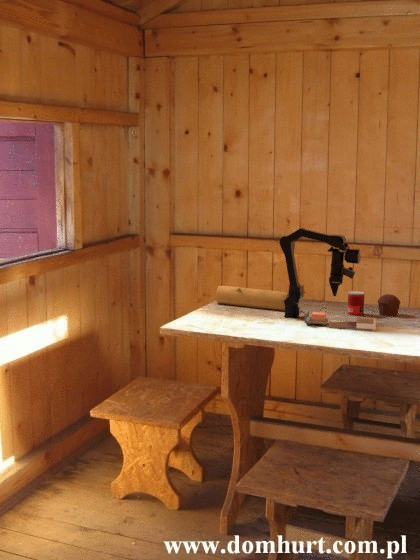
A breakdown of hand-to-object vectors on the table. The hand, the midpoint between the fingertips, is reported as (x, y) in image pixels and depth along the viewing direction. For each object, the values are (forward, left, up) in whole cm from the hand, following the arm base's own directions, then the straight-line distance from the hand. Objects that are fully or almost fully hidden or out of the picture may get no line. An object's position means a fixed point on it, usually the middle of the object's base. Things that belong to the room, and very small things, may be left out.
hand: (335, 294), depth 379 cm
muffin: (+25, +24, -13) cm, 37 cm away
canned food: (+9, +20, -13) cm, 26 cm away
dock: (+9, -10, -14) cm, 19 cm away
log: (-43, +24, -13) cm, 51 cm away
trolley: (-8, -10, -13) cm, 18 cm away
